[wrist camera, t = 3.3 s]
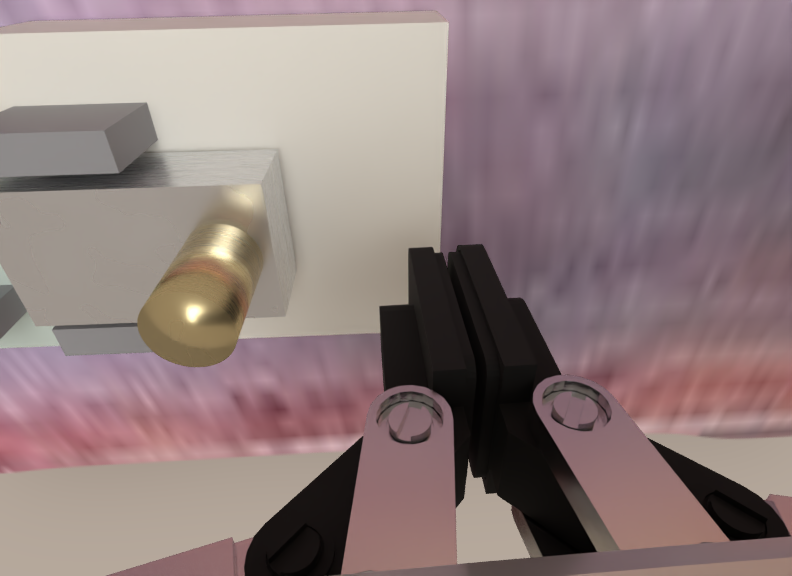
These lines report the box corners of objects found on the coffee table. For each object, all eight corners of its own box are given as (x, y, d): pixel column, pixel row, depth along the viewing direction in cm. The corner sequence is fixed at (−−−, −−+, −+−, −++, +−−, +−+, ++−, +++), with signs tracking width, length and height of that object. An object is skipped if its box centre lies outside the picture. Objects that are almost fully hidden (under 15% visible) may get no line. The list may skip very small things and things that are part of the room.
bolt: (277, 149, 14) (230, 247, 9) (296, 269, 16) (267, 395, 11) (24, 157, 13) (-156, 260, 9) (80, 277, 16) (-39, 409, 11)
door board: (435, 10, 15) (464, 36, 10) (429, 284, 20) (445, 379, 16) (31, 20, 14) (-127, 52, 10) (139, 295, 20) (71, 395, 15)
